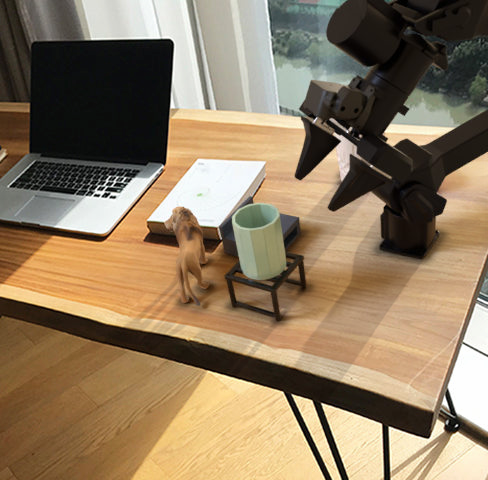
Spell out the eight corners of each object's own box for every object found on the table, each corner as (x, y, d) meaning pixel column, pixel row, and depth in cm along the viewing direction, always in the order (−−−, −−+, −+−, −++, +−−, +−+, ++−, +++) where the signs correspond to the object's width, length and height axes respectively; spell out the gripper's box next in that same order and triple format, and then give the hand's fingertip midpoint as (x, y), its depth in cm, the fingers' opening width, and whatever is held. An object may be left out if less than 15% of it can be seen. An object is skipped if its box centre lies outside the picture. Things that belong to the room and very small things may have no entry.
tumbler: (284, 249, 92) (277, 199, 87) (288, 276, 88) (280, 225, 83) (241, 255, 93) (231, 206, 88) (242, 282, 89) (232, 233, 84)
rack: (307, 286, 94) (304, 255, 91) (279, 322, 90) (273, 290, 86) (260, 273, 98) (254, 243, 95) (230, 306, 94) (223, 276, 91)
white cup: (387, 188, 108) (385, 131, 102) (336, 192, 110) (332, 136, 104) (385, 163, 114) (384, 107, 108) (337, 167, 116) (333, 113, 110)
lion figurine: (173, 254, 107) (159, 205, 101) (206, 246, 106) (194, 197, 101) (182, 313, 95) (168, 262, 90) (219, 304, 95) (207, 253, 89)
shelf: (301, 233, 104) (297, 205, 101) (272, 265, 99) (267, 238, 96) (254, 222, 109) (249, 196, 106) (224, 253, 104) (218, 226, 101)
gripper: (305, 31, 84) (237, 140, 89) (387, 76, 70) (300, 203, 75) (365, 73, 90) (298, 173, 95) (452, 122, 75) (367, 237, 81)
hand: (313, 193), depth 87 cm, fingers open, 9 cm apart
